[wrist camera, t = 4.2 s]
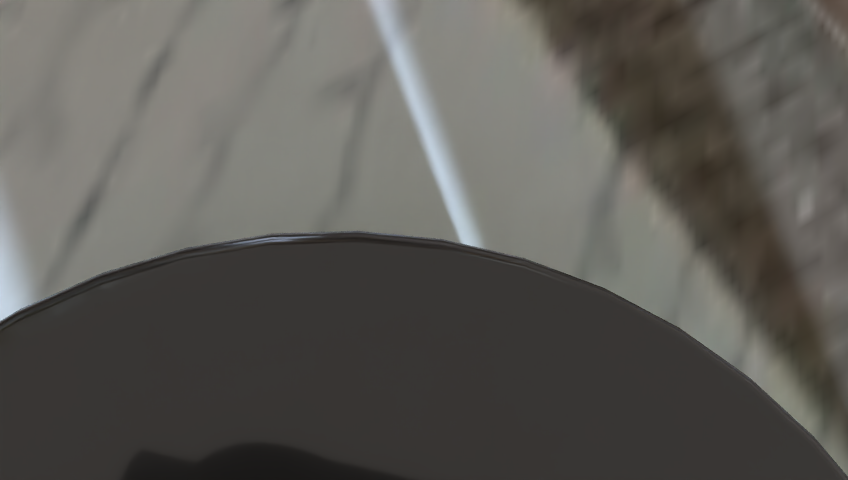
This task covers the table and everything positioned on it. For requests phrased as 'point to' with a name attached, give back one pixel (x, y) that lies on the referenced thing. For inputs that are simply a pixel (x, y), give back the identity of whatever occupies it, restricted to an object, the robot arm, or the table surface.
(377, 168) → the table surface
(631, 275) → the table surface
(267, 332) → the spice jar
